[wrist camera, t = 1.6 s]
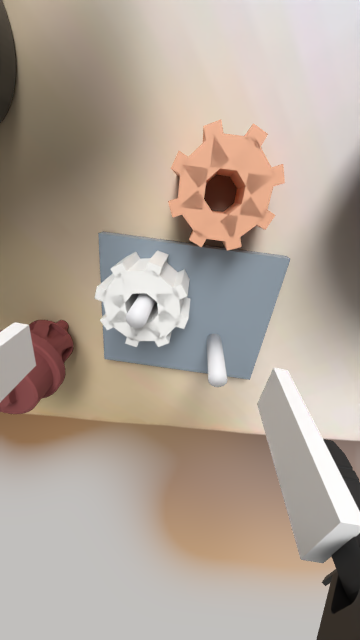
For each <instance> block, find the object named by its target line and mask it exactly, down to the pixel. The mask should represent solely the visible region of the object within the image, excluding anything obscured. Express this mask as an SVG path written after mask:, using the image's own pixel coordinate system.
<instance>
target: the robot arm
mask: <svg viewBox="0 0 360 640" xmlns="http://www.w3.org/2000/svg"><path fill="white" fill-rule="evenodd" d="M15 79H16V60H15V49H14V42H13V37H12V32H11V28H10V24H9V20H8V17H7V13H6V10H5V7H4V5H3V2H2V0H0V123H1V121H2V120H3V119H4V117H5V115H6V113H7V111H8V109H9V107H10V104H11V101H12V98H13V93H14V87H15ZM35 366H36V362H35V356H34V350H33V345H32V339H31V334H30V328H29V325H27V324H21V323H16V322H14V323H13V324H11V325H10V326H8V327H7V328H5V329H4V330H2V331H1V332H0V402H1V401H2V400H3V399H4V398H5V397H6V396H7V395H8V394H9V393H10V392H11V391H12V390H13V389H14V388H15V387H16V386H17V385H18V384H19V383H20V381H21V380H22V379H23V378H24V377H25V376H26V375H27V374H28V373H29V372H30V371H31V370H32V369H33V368H34V367H35ZM257 405H258V408H259V412H260V415H261V419H262V423H263V426H264V430H265V433H266V437H267V440H268V444H269V448H270V451H271V455H272V458H273V462H274V466H275V469H276V473H277V476H278V480H279V483H280V487H281V491H282V494H283V498H284V501H285V505H286V508H287V512H288V516H289V519H290V523H291V526H292V530H293V533H294V537H295V541H296V544H297V548H298V552H299V555H300V559H301V560H307V561H313V562H319V563H324V562H325V561H326V560H328V559H329V558H330V557H331V556H332V558H333V561H334V564H335V567H336V569H335V570H334V571H333V572H331V573H330V574H329V575H327V576H326V577H325V579H324V580H323V582H322V583H323V584H324V585H325V586H326V585H328V584H329V583H330V587H329V592H328V595H327V599H326V604H325V607H324V611H323V615H322V620H321V624H320V628H319V632H318V636H317V640H360V482H359V479H358V477H357V475H356V473H355V471H353V470H352V466H351V464H350V463H349V461H348V459H347V457H346V455H345V454H344V453H343V452H342V450H341V449H340V448H339V447H338V446H337V445H336V444H335V443H334V442H333V441H331V440H325V439H323V438H322V436H321V435H320V433H319V431H318V429H317V427H316V425H315V423H314V421H313V419H312V417H311V415H310V413H309V411H308V409H307V407H306V405H305V403H304V401H303V399H302V397H301V395H300V393H299V391H298V389H297V387H296V385H295V383H294V381H293V380H292V378H291V376H290V374H289V372H288V370H284V369H278V368H273V370H272V372H271V375H270V377H269V379H268V381H267V383H266V386H265V388H264V390H263V392H262V394H261V397H260V399H259V401H258V403H257Z"/></svg>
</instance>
